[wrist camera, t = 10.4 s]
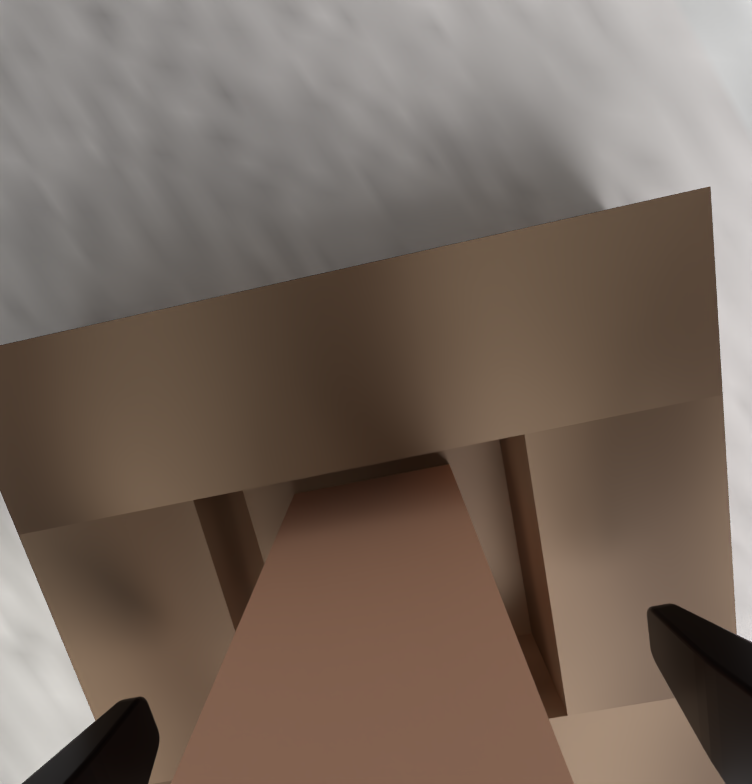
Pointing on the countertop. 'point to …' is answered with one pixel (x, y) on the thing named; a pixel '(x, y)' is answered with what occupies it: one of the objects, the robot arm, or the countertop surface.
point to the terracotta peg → (375, 653)
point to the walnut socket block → (399, 461)
